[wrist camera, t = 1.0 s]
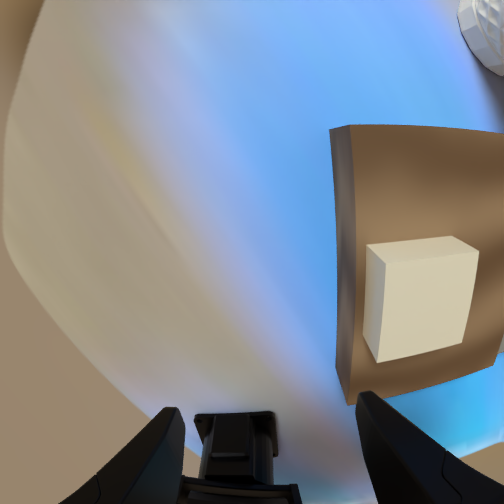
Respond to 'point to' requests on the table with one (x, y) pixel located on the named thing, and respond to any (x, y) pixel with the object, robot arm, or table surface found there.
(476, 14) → the white cup
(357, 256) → the plate
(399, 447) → the robot arm
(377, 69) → the table surface
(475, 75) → the table surface
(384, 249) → the tile
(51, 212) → the table surface
